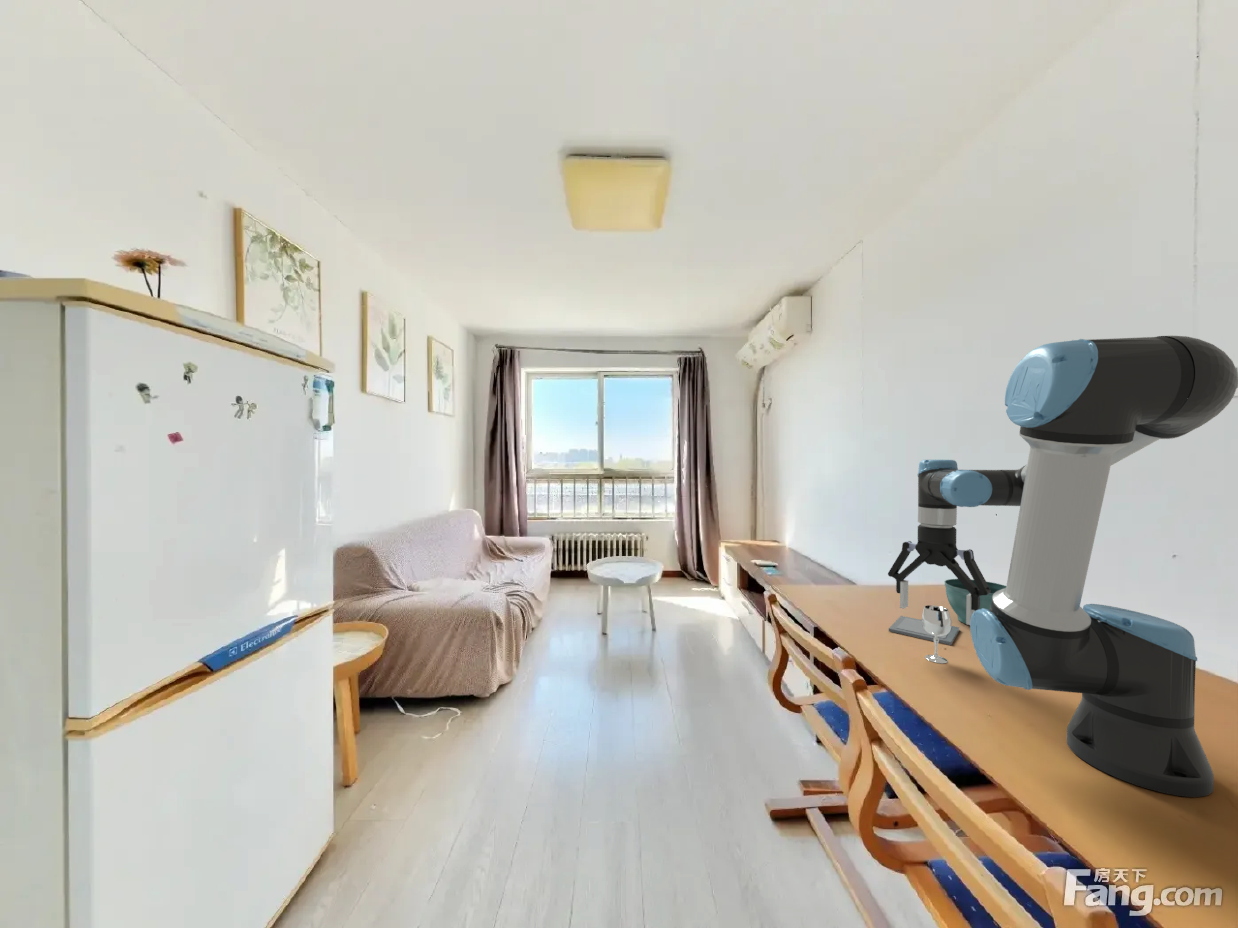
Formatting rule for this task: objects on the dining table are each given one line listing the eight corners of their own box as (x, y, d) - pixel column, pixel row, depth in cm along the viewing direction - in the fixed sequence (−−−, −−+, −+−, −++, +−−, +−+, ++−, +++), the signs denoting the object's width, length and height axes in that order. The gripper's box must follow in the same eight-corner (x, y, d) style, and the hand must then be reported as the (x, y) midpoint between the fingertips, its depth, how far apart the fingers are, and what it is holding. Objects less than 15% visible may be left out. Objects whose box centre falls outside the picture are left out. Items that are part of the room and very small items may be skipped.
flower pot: (951, 610, 144) (952, 575, 144) (1020, 623, 133) (1020, 585, 132) (937, 622, 134) (937, 585, 133) (1010, 638, 122) (1010, 597, 122)
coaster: (951, 645, 117) (951, 641, 117) (888, 631, 127) (888, 627, 127) (959, 630, 128) (959, 626, 128) (901, 618, 137) (901, 615, 137)
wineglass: (952, 658, 109) (953, 608, 109) (948, 666, 105) (949, 614, 105) (924, 651, 113) (924, 602, 113) (919, 659, 109) (919, 608, 109)
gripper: (1009, 530, 101) (1007, 627, 102) (887, 517, 121) (886, 598, 122) (998, 534, 97) (996, 635, 97) (873, 520, 117) (873, 604, 117)
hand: (935, 615), depth 110 cm, fingers open, 13 cm apart
